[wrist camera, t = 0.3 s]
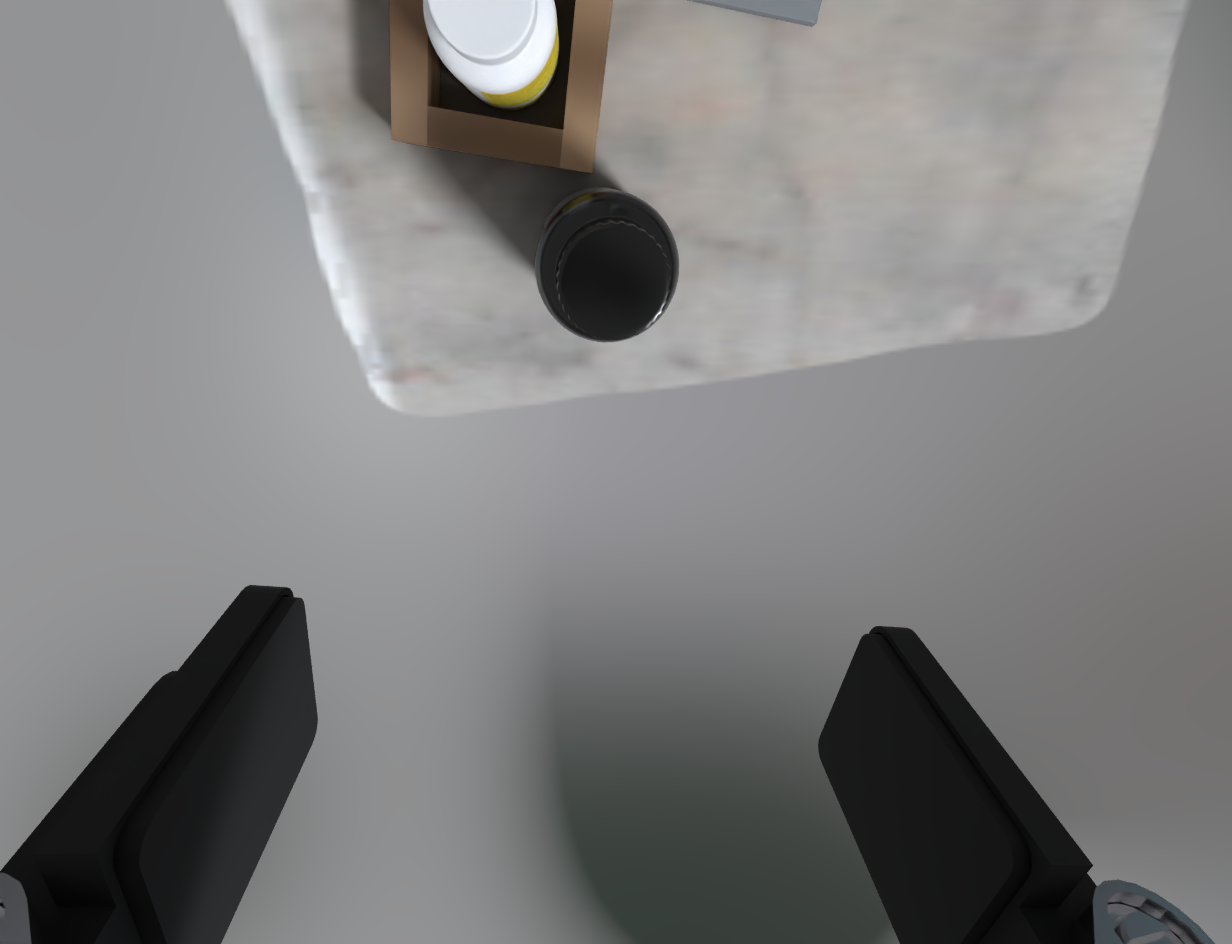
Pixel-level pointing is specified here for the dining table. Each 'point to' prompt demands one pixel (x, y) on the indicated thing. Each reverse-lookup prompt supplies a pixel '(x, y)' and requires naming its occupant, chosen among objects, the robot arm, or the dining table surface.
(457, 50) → the supplement bottle
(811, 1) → the slate mat
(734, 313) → the dining table surface
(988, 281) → the dining table surface
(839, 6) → the dining table surface
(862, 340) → the dining table surface
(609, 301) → the supplement bottle
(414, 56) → the walnut collar
